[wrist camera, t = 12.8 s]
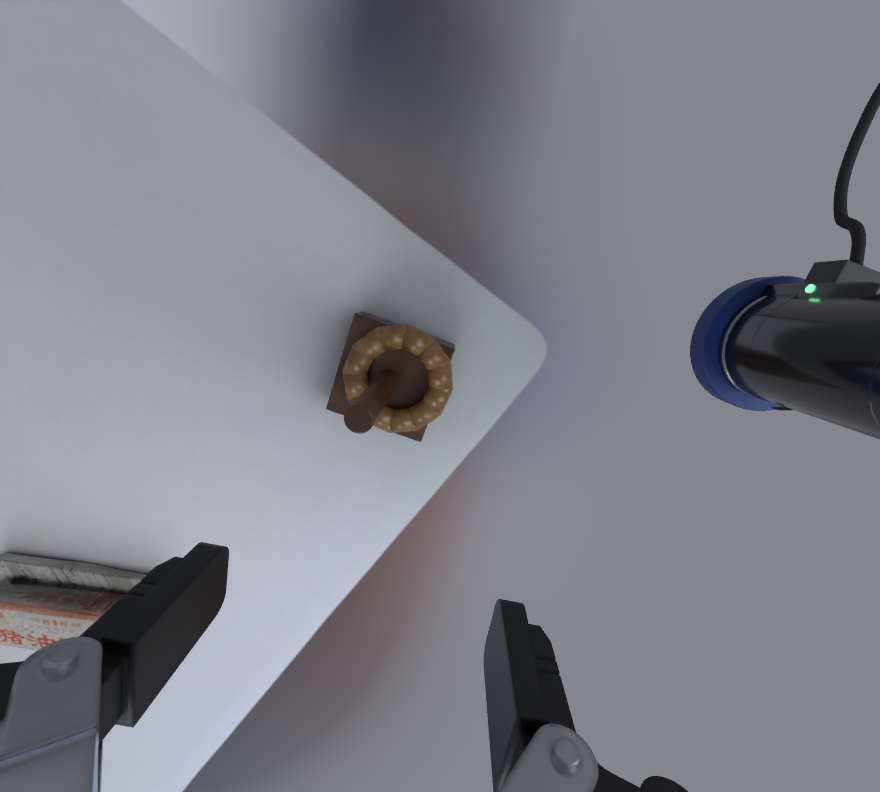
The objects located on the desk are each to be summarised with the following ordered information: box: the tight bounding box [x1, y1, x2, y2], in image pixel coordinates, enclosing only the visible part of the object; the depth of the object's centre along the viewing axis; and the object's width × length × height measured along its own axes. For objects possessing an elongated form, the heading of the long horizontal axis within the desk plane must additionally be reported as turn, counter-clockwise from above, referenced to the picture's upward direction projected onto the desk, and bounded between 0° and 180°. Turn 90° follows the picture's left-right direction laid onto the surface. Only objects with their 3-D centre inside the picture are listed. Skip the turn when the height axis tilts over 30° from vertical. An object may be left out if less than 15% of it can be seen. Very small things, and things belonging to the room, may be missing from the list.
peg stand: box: [326, 312, 455, 442], centre depth 33 cm, size 9×9×15 cm
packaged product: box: [0, 553, 147, 650], centre depth 45 cm, size 18×5×10 cm
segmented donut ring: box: [343, 324, 453, 433], centre depth 36 cm, size 9×9×2 cm
